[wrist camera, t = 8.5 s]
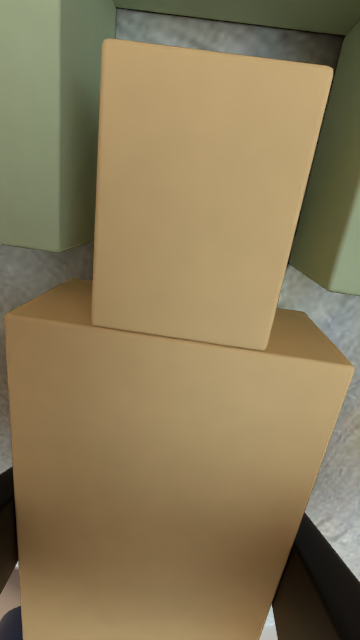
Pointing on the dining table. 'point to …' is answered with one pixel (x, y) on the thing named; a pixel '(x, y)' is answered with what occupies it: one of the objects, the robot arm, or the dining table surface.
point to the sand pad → (175, 361)
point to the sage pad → (83, 124)
